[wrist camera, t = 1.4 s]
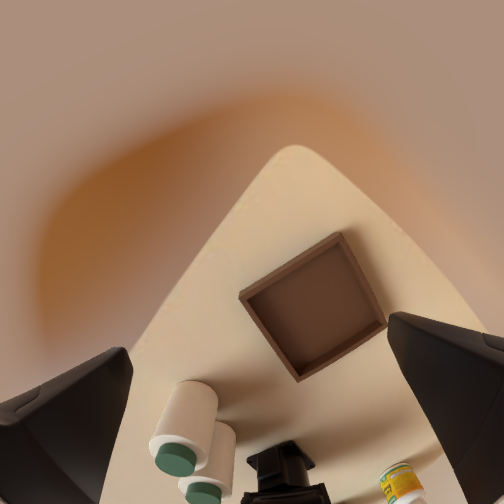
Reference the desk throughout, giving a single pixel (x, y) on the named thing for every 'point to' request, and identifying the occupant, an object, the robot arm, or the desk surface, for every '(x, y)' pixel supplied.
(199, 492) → the white bottle
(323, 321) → the tray
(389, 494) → the supplement bottle
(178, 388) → the white bottle
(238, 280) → the desk surface
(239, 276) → the desk surface
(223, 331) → the desk surface
